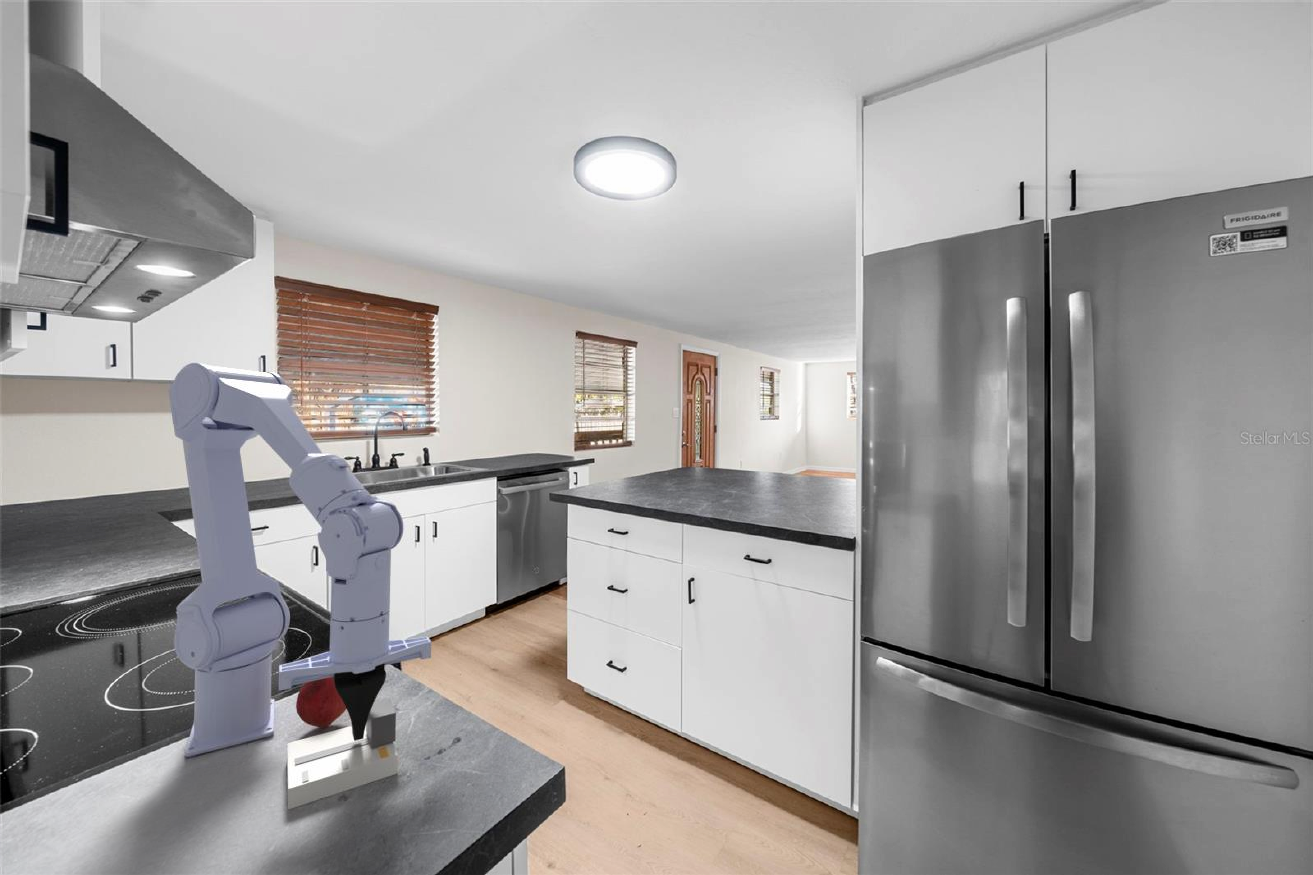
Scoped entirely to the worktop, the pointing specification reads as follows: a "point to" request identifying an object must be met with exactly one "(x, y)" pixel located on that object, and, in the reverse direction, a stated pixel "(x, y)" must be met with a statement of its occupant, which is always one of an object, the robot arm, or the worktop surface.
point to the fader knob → (381, 723)
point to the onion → (319, 703)
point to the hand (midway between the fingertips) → (358, 735)
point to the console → (334, 765)
